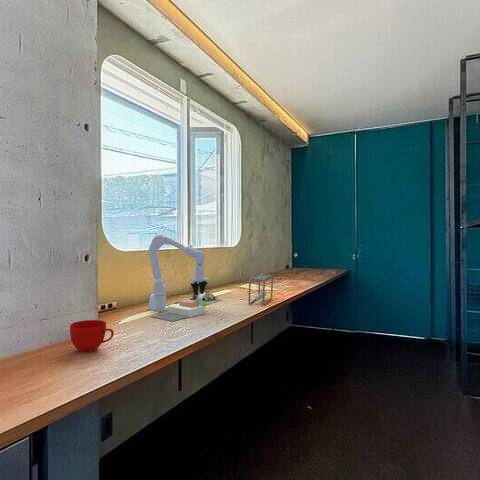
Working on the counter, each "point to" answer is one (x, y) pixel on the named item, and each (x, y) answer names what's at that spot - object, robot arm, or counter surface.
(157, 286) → the robot arm
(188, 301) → the tile
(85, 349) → the ceramic cup
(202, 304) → the decorative card
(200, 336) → the counter surface
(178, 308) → the white platform
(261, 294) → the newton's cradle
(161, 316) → the mat
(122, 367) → the counter surface
